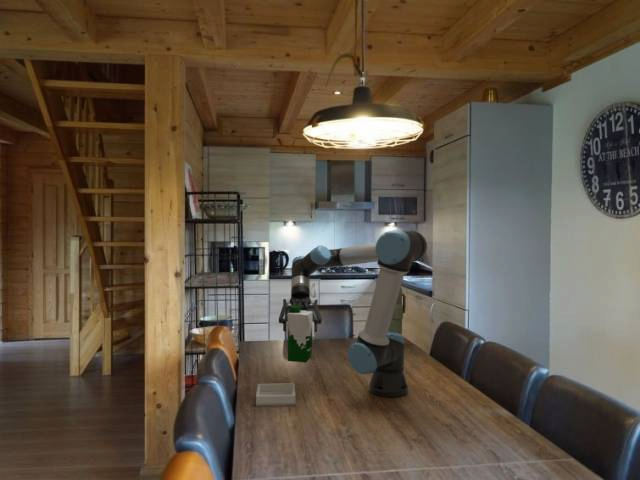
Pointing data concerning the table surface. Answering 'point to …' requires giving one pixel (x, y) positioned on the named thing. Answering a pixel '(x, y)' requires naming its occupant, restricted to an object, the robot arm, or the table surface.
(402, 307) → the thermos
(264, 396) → the square holder
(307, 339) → the soya milk
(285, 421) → the table surface
